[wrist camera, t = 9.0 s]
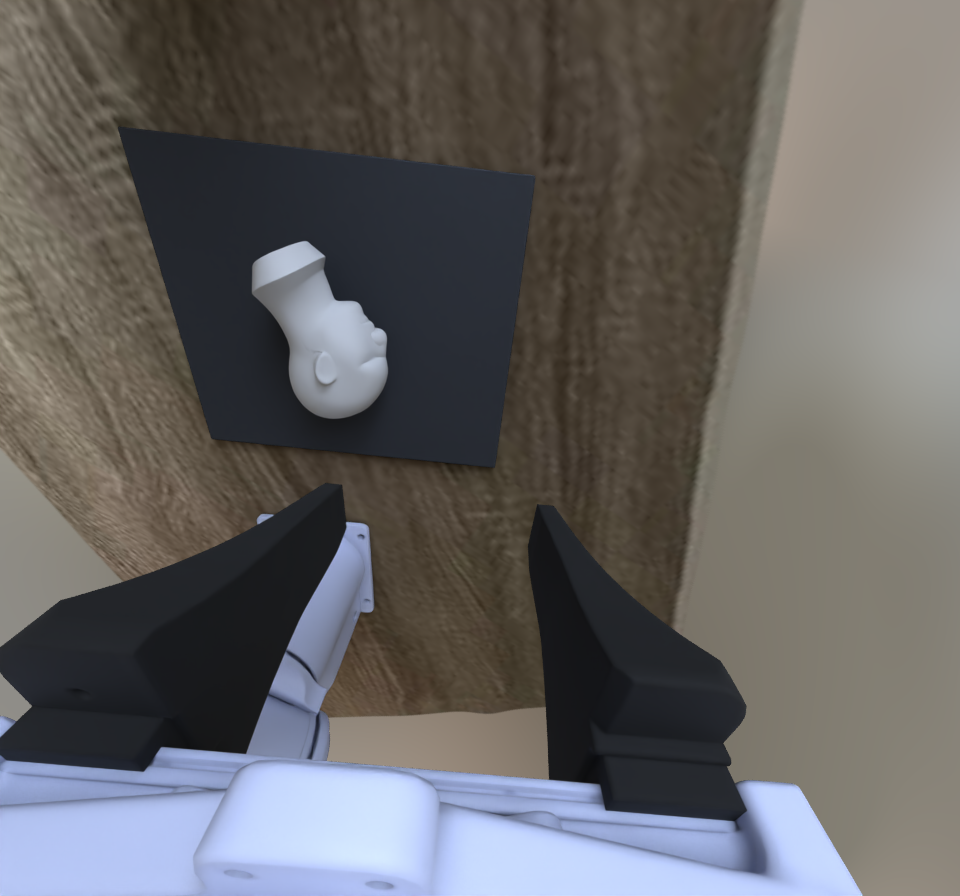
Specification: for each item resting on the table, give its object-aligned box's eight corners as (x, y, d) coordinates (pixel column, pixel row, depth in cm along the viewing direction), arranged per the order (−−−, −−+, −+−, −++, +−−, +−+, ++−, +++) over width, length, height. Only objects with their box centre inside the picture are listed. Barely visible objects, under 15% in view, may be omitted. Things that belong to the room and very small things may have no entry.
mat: (494, 463, 22) (494, 468, 22) (217, 435, 22) (211, 439, 22) (534, 178, 15) (535, 175, 15) (129, 130, 15) (116, 125, 15)
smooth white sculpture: (401, 390, 21) (314, 410, 20) (359, 238, 17) (250, 254, 16) (408, 415, 17) (302, 441, 16) (357, 227, 13) (214, 248, 12)
